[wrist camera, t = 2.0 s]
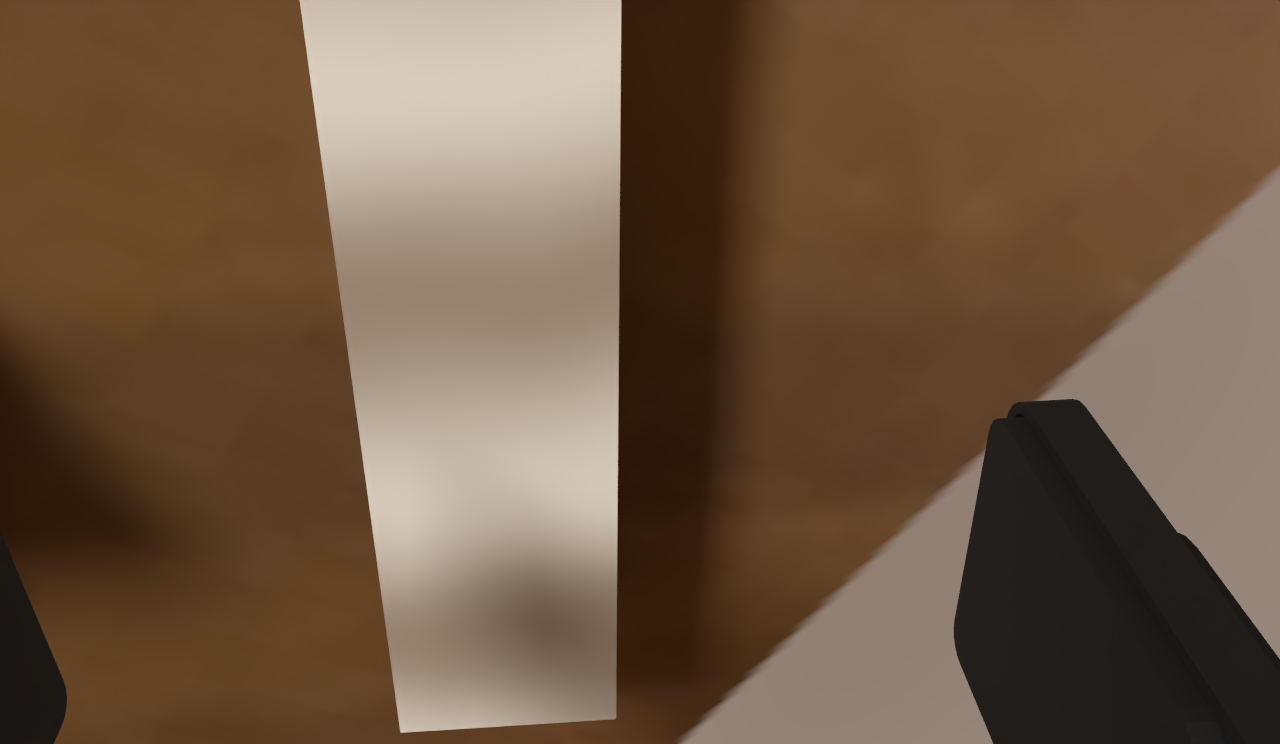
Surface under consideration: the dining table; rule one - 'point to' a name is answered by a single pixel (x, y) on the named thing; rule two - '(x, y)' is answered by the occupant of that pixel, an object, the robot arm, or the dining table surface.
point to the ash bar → (482, 339)
